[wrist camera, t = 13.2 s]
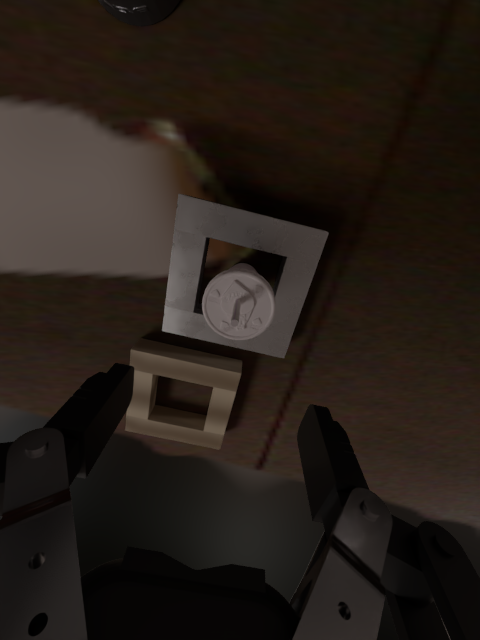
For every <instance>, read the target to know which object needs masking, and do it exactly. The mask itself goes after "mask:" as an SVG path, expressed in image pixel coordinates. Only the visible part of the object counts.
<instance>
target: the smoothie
mask: <svg viewBox="0 0 480 640" xmlns="http://www.w3.org/2000/svg"><path fill="white" fill-rule="evenodd" d="M275 303H276V300H275V296H274V291H273V290H272V288H271V286H270V284H269V283H268V282H267V281H266V280H265V279H264V277H263V276H261V275H259V274H258V273H257V271H256V270H255V269H254V268H253V267H252V266H251V265H249V264H246V263H238V264H236V265H234V266H233V267H231V268H230V269H229V270H226V271H223V272H222V273H220V274H218V275H216V276H215V277H214V278H213V279H212V280H211V281H210V282H209V284H208V286H207V287H206V289H205V292H204V295H203V299H202V311H203V315H204V318H205V320H206V322H207V323H208V325H209V326H210V327H211V328H212V329H213V330H214V331H215V332H216V333H218V334H219V335H221V336H223V337H225V338H228V339H232V340H247V339H251V338H254V337H256V336H258V335H260V334H261V333H262V332H264V331H265V330H266V329H267V328H268V327H269V325H270V324H271V322H272V320H273V318H274V315H275V309H276V304H275Z"/></svg>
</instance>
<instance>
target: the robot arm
mask: <svg viewBox="0 0 480 640" xmlns="http://www.w3.org/2000/svg"><path fill="white" fill-rule="evenodd" d="M98 1H99V2H100V3H101V5H102V6H103V7H104V8H105V9H106V10H107V11H108V12H109V13H110V14H112V15H113V16H114V17H116V18H117V19H119V20H121V21H123V22H125V23H128V24H130V25H136V26H146V25H153V24H155V23H157V22H159V21H161V20H163V19H164V18H165V17H166V16H167V15H169V14H170V13H171V12H172V11H173V10H174V8H175V7H176V5H177V4H178V3H179V1H180V0H98ZM133 385H134V367H133V366H129V365H124V364H120V363H115V364H114V365H113V366H112V367H111V369H110V370H109V371H108V372H107V373H103V372H99V373H97V374H95V375H93V376H92V377H90V378H88V379H87V380H86V381H85V382H84V383H83V384H82V385H81V387H80V388H79V389H78V390H77V391H76V392H75V393H74V394H73V396H72V397H70V399H69V400H68V401H67V402H66V403H65V404H64V405H63V406H62V407H61V408H60V409H59V411H58V412H57V413H56V414H55V415H54V416H53V417H52V418H51V419H50V420H49V421H48V423H47V424H46V425H45V426H44V427H43V428H39V429H35V430H32V431H29V432H27V433H25V434H23V435H22V436H20V437H19V438H17V440H15V441H14V442H8V443H0V516H2V519H1V520H0V640H377V634H378V630H379V625H380V620H381V615H382V610H383V604H384V599H385V595H386V598H387V602H388V605H389V608H390V612H391V615H392V618H393V622H394V625H395V628H396V632H397V635H398V638H399V640H450V639H451V640H480V578H479V576H478V575H477V573H476V571H475V569H474V568H473V566H472V564H471V562H470V560H469V559H468V557H467V555H466V553H465V552H464V550H463V548H462V547H461V545H460V544H459V543H458V542H457V540H456V539H455V538H454V537H453V536H452V535H451V534H450V533H449V532H448V531H446V530H445V529H444V528H442V527H441V526H439V525H437V524H435V523H433V522H429V521H426V522H425V521H424V522H422V523H421V524H420V525H419V526H418V527H417V528H416V527H414V526H412V525H410V524H408V523H406V522H405V521H403V520H401V519H399V518H397V517H395V516H393V515H392V514H391V513H390V511H389V509H388V507H387V506H386V505H385V503H384V502H383V501H382V500H381V499H380V498H379V497H378V496H377V495H376V494H375V493H373V492H372V491H370V490H369V488H368V485H367V483H366V480H365V478H364V476H363V473H362V471H361V468H360V466H359V463H358V461H357V458H356V456H355V454H354V451H353V448H352V446H351V445H350V441H349V438H348V436H347V434H346V432H345V430H344V429H343V428H342V427H341V425H340V424H339V423H338V422H337V421H333V419H332V417H331V414H330V411H329V409H328V408H327V407H322V406H317V405H312V404H311V405H309V407H308V409H307V411H306V413H305V415H304V418H303V420H302V422H301V424H300V426H299V429H298V435H297V441H298V447H299V452H300V458H301V463H302V468H303V474H304V479H305V484H306V489H307V495H308V500H309V505H310V511H311V516H312V521H315V522H321V523H323V525H324V529H325V532H324V533H323V535H322V537H321V539H320V541H319V543H318V545H317V548H316V550H315V552H314V554H313V556H312V558H311V561H310V563H309V565H308V567H307V569H306V571H305V574H304V576H303V578H302V580H301V582H300V584H299V586H298V588H297V590H296V591H295V593H294V595H293V597H292V599H291V600H290V602H289V603H288V601H287V600H286V599H285V598H284V597H283V596H282V595H281V594H280V593H279V592H278V591H277V590H275V589H274V588H273V587H271V586H270V585H268V584H267V583H265V570H263V569H257V568H252V567H245V566H239V565H234V564H230V565H225V566H219V567H213V568H208V569H202V570H194V569H192V568H190V567H188V566H186V565H184V564H182V563H181V562H179V561H177V560H175V559H173V558H172V557H170V556H168V555H166V554H164V553H162V552H157V551H151V550H145V549H139V548H134V547H127V550H126V553H125V555H124V558H122V559H117V560H113V561H110V562H107V563H105V564H103V565H100V566H98V567H96V568H94V569H93V570H91V571H89V572H88V573H86V574H85V575H84V576H82V577H81V578H80V571H79V561H78V553H77V544H76V536H75V528H74V518H73V511H72V501H71V494H70V488H69V487H70V485H71V484H72V482H73V480H74V479H75V477H80V478H87V476H88V474H89V473H90V471H91V469H92V468H93V466H94V464H95V463H96V461H97V459H98V458H99V456H100V454H101V452H102V451H103V449H104V448H105V446H106V444H107V443H108V441H109V439H110V437H111V436H112V434H113V432H114V431H115V429H116V427H117V426H118V424H119V422H120V421H121V419H122V417H123V416H124V414H125V412H126V411H127V409H128V407H129V405H130V403H131V400H132V396H133ZM434 600H435V603H436V605H437V607H438V610H439V612H440V615H441V617H442V619H443V622H444V624H445V626H446V629H447V631H448V634H449V636H450V639H449V637H448V634H447V632H446V630H445V627H444V625H443V622H442V620H441V617H440V615H439V613H438V611H437V608H436V605H435V603H434Z"/></svg>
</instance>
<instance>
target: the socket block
mask: <svg viewBox="0 0 480 640" xmlns="http://www.w3.org/2000/svg"><path fill="white" fill-rule="evenodd" d="M130 366H133V367H134V385H133V396H132V400H131V403H130V405H129V407H128V409H127V415H126V430H125V431H130V432H135V433H140V434H145V435H150V436H155V437H160V438H165V439H170V440H175V441H180V442H185V443H190V444H195V445H199V446H204V447H209V448H214V449H219V450H220V447H221V444H222V440H223V437H224V433H225V430H226V426H227V423H228V419H229V416H230V412H231V409H232V405H233V402H234V398H235V395H236V391H237V388H238V384H239V380H240V377H241V373H242V360H237V359H233V358H228V357H224V356H219V355H215V354H210V353H206V352H201V351H197V350H192V349H188V348H183V347H179V346H174V345H170V344H165V343H161V342H156V341H152V340H147V339H143V338H140V339H139V340H138V342H137V343H136V344H135V345H134V346H133V347H132V349H131V355H130ZM158 376H164V377H169V378H173V379H178V380H183V381H187V382H192V383H197V384H201V385H206V386H210V387H213V391H212V395H211V399H210V404H209V408H208V412H207V415H202V414H197V413H193V412H188V411H183V410H178V409H173V408H169V407H164V406H159V405H155V400H156V392H157V384H158Z"/></svg>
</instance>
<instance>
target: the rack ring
mask: <svg viewBox="0 0 480 640" xmlns="http://www.w3.org/2000/svg"><path fill="white" fill-rule="evenodd" d="M328 234H329V232H327V231H325V230H322V229H318V228H314V227H310V226H306V225H302V224H298V223H294V222H290V221H286V220H282V219H278V218H274V217H271V216H267V215H263V214H259V213H255V212H251V211H247V210H243V209H239V208H235V207H231V206H227V205H223V204H219V203H215V202H212V201H208V200H204V199H200V198H196V197H192V196H188V195H182V194H179V195H178V203H177V211H176V220H175V228H174V236H173V244H172V253H171V261H170V269H169V277H168V285H167V294H166V302H165V310H164V319H163V327H162V331H164V332H169V333H173V334H178V335H182V336H187V337H191V338H195V339H200V340H204V341H209V342H213V343H218V344H222V345H227V346H231V347H236V348H240V349H244V350H249V351H253V352H258V353H262V354H267V355H271V356H276V357H280V358H284V357H285V354H286V352H287V349H288V346H289V343H290V340H291V338H292V335H293V332H294V329H295V326H296V324H297V321H298V318H299V315H300V312H301V310H302V307H303V304H304V301H305V298H306V296H307V293H308V290H309V287H310V284H311V282H312V279H313V276H314V273H315V270H316V268H317V265H318V262H319V259H320V256H321V254H322V251H323V248H324V245H325V242H326V240H327V237H328ZM210 238H213V239H217V240H221V241H225V242H229V243H233V244H237V245H241V246H245V247H249V248H253V249H257V250H261V251H266V252H270V253H274V254H278V255H282V256H283V257H282V261H281V264H280V267H279V271H278V274H277V277H276V281H275V284H274V287H273V291H274V296H275V300H276V303H275V304H276V309H275V315H274V318H273V320H272V322H271V324H270V325H269V327H268V328H267V329H266V330H265V331H264V332H262V333H261V334H260V335H258V336H256V337H254V338H251V339H247V340H232V339H228V338H225V337H223V336H221V335H219V334H218V333H216V332H215V331H214V330H213V329H212V328H211V327H210V326H209V325H208V323H207V322H206V320H205V318H204V315H203V311H202V304H198V302H199V296H200V290H201V285H202V279H203V273H204V268H205V262H206V256H207V251H208V245H209V239H210Z"/></svg>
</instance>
